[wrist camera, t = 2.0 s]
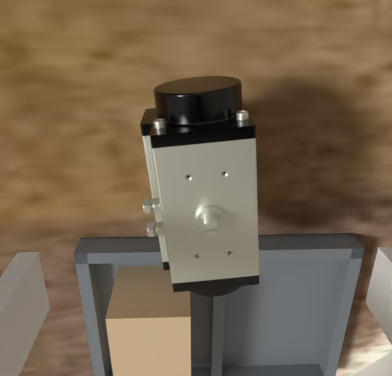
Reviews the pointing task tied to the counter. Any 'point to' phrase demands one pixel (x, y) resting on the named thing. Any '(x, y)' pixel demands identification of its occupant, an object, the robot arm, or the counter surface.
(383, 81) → the counter surface
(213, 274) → the pneumatic valve
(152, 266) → the bay tray
